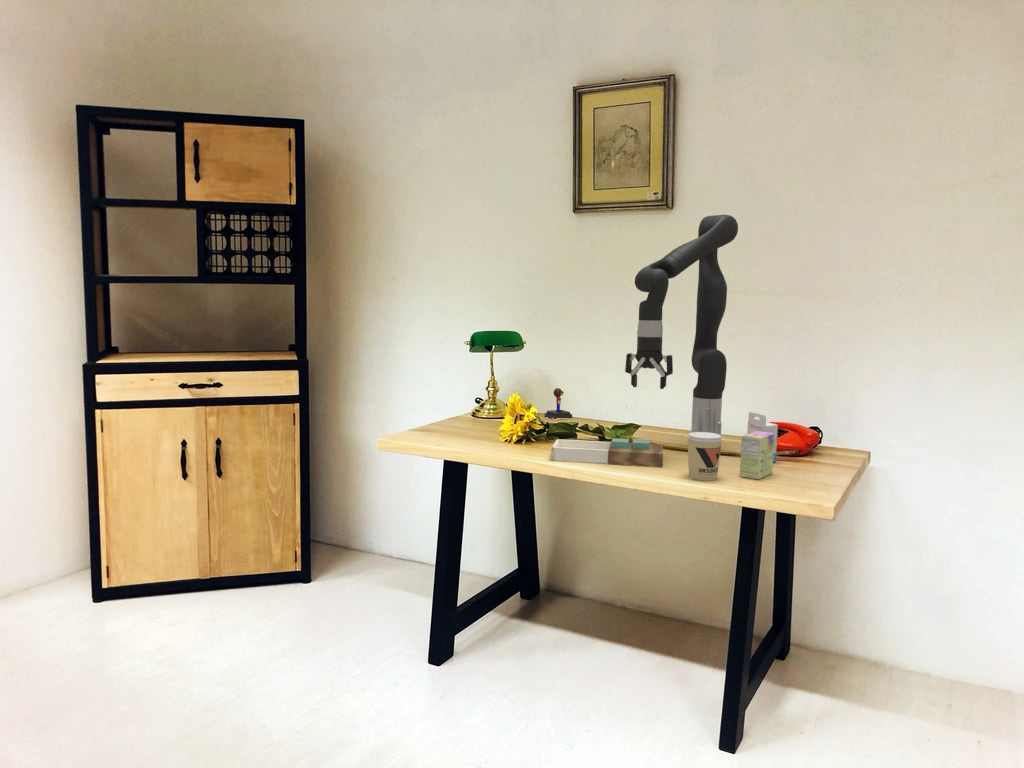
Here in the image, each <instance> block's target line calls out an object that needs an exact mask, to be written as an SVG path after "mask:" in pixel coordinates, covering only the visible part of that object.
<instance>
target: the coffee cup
mask: <svg viewBox="0 0 1024 768" xmlns="http://www.w3.org/2000/svg"><path fill="white" fill-rule="evenodd" d="M722 442H723V437H722V434H721V435H719V434H716V433H709V432H692V433H691V432H690V433H688V435H687V452H688V453H687V454H688V455H687V457H688V458H687V459H688V477H689V479H693V480H697V481H715V480H717V479H718V473H719V466H720V457H721V451H722V449H721V448H722Z"/></svg>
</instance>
